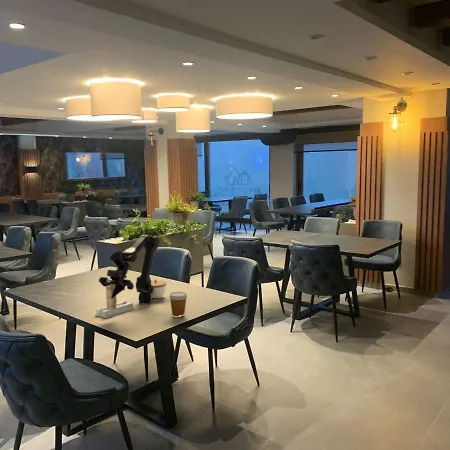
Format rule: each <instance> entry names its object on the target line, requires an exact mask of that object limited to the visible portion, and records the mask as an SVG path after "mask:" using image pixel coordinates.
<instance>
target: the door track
mask: <svg viewBox="0 0 450 450" xmlns="http://www.w3.org/2000/svg"><path fill="white" fill-rule="evenodd" d="M131 309H133V310H134V309H135V308H134V302H131V301H130V302H127V300H122V301H120V302H117V308H115V309H113V310H111V311H110V310H107V305H106V306H103V307H99V308H97V309H95V316H97V317H100V318H102V319H108V318H111V317H114V316H117V315H120V314H123V313H126V312H129V311H128V310H130V311H132V310H131Z"/></svg>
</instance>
